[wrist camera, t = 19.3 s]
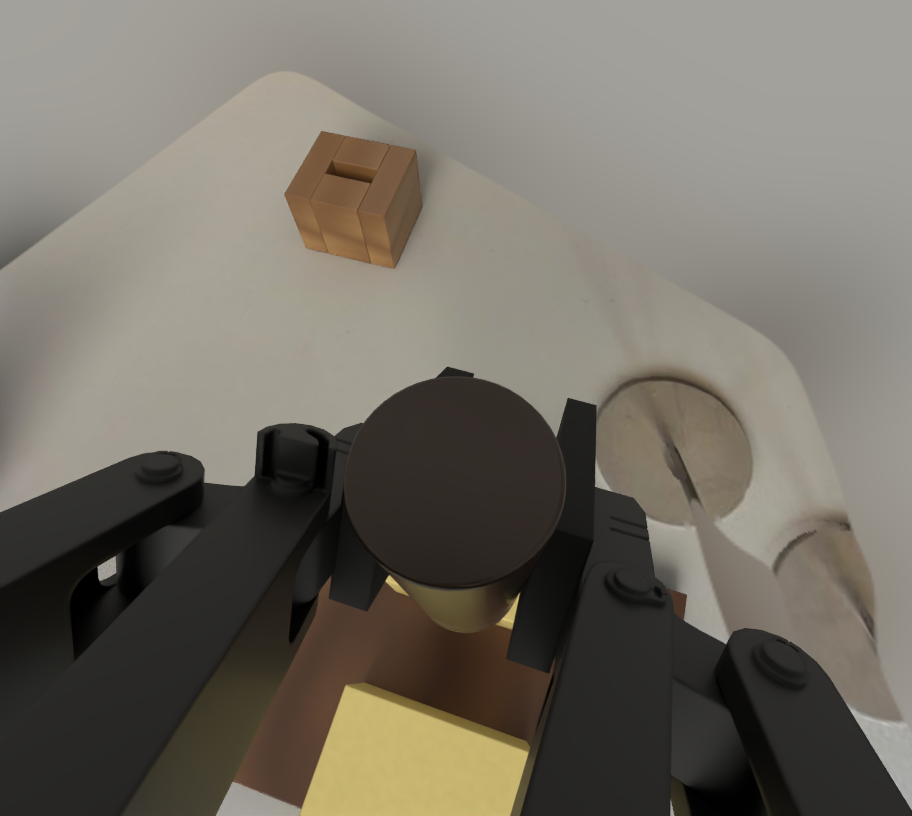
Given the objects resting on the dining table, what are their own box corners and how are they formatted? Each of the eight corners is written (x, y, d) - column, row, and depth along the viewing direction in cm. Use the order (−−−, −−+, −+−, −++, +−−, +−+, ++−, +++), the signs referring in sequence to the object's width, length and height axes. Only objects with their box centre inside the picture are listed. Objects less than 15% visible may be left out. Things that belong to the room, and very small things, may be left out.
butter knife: (512, 584, 21) (588, 404, 7) (493, 655, 20) (535, 624, 6) (448, 563, 22) (388, 351, 7) (426, 632, 21) (305, 548, 6)
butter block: (526, 741, 25) (535, 754, 22) (496, 873, 23) (501, 912, 20) (363, 681, 26) (345, 684, 23) (321, 802, 24) (294, 826, 21)
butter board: (677, 598, 29) (687, 594, 28) (629, 931, 23) (639, 947, 22) (325, 489, 32) (318, 481, 31) (210, 761, 27) (195, 766, 25)
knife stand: (422, 206, 41) (416, 149, 36) (394, 269, 39) (384, 216, 34) (337, 188, 42) (321, 130, 37) (305, 248, 40) (283, 194, 35)
